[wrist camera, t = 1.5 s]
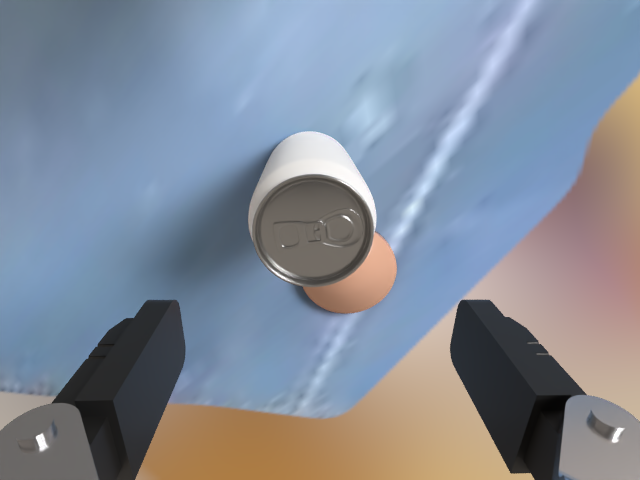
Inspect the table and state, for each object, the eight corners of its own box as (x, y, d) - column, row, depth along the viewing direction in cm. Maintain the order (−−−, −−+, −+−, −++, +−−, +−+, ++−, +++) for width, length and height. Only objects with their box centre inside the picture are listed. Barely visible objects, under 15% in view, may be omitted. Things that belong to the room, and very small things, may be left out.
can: (355, 209, 29) (387, 286, 18) (274, 219, 29) (257, 303, 18) (347, 124, 27) (379, 154, 16) (259, 136, 27) (228, 175, 16)
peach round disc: (300, 223, 30) (300, 227, 29) (399, 224, 30) (401, 228, 29) (300, 308, 33) (299, 313, 32) (389, 308, 33) (391, 313, 32)
